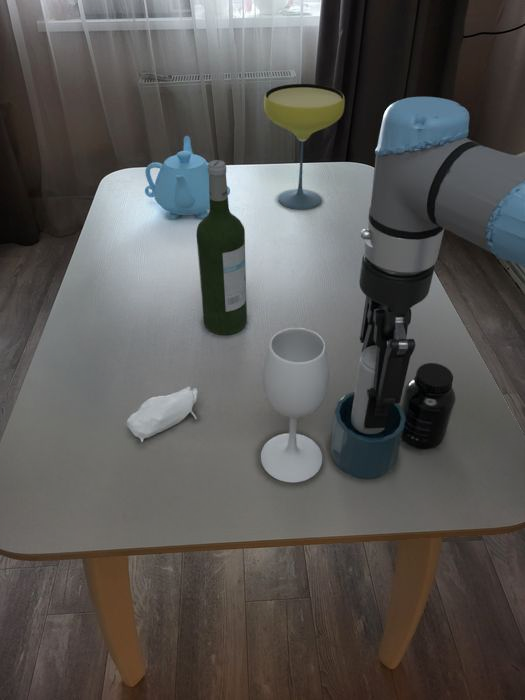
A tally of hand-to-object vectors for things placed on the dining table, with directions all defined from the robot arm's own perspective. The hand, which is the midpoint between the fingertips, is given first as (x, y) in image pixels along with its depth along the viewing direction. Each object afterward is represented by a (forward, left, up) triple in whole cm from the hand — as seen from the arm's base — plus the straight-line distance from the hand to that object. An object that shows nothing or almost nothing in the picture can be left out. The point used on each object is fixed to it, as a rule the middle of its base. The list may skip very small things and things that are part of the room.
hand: (370, 409), depth 74 cm
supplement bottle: (-4, -9, -9) cm, 13 cm away
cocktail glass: (+58, -56, -9) cm, 81 cm away
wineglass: (+7, +8, -9) cm, 14 cm away
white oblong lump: (+25, +16, -9) cm, 31 cm away
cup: (0, 0, -9) cm, 9 cm away
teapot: (+75, -34, -9) cm, 83 cm away
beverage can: (0, 0, -3) cm, 3 cm away
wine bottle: (+36, -8, -9) cm, 38 cm away
